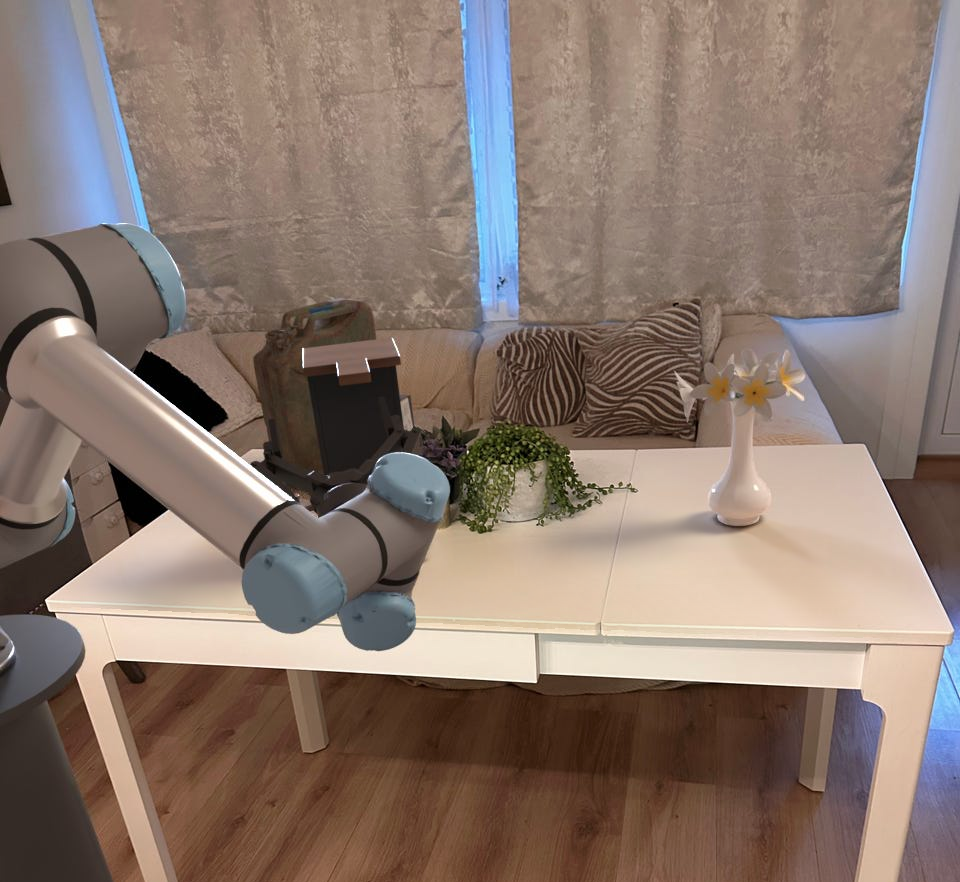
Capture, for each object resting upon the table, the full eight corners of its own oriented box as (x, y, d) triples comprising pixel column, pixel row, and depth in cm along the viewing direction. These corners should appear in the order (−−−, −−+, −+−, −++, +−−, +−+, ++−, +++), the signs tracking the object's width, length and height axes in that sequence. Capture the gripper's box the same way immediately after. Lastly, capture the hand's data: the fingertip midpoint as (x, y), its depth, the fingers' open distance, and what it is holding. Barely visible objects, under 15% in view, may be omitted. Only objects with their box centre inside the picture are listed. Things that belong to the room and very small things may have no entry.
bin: (420, 561, 141) (395, 365, 127) (340, 571, 141) (306, 375, 127) (416, 531, 152) (393, 346, 138) (342, 540, 151) (310, 356, 137)
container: (367, 450, 192) (344, 295, 177) (398, 458, 185) (376, 298, 171) (272, 482, 179) (239, 318, 165) (302, 493, 172) (270, 323, 158)
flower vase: (664, 511, 150) (665, 351, 138) (778, 498, 150) (789, 337, 138) (687, 543, 138) (690, 371, 126) (810, 529, 139) (825, 356, 127)
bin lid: (407, 383, 121) (405, 367, 120) (305, 396, 120) (302, 380, 119) (394, 351, 139) (392, 336, 138) (305, 362, 137) (302, 347, 136)
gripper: (250, 579, 104) (235, 461, 118) (469, 531, 107) (430, 421, 121) (232, 529, 99) (218, 411, 112) (464, 479, 101) (423, 370, 115)
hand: (328, 416), depth 116 cm, fingers open, 13 cm apart
